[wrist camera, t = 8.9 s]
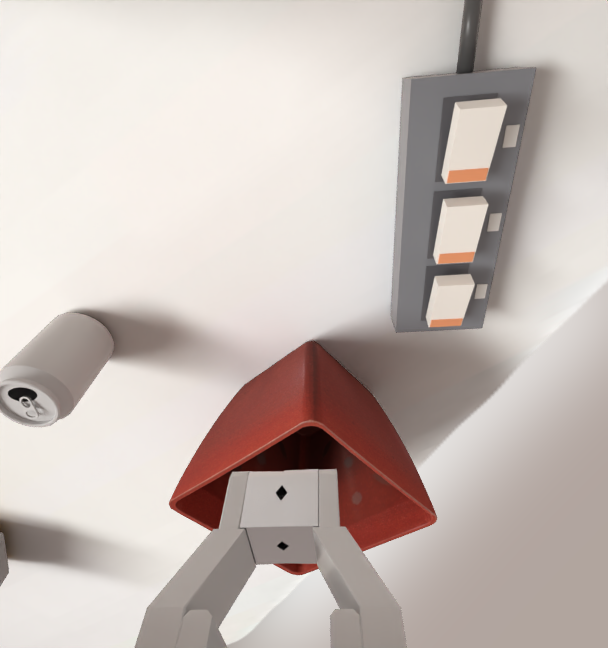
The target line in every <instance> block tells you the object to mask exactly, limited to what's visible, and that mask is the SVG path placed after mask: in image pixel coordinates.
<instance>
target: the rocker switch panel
mask: <svg viewBox="0 0 608 648" xmlns="http://www.w3.org/2000/svg"><path fill="white" fill-rule="evenodd" d="M481 7H482V0H465V2H464V11H463V19H462V28H461V37H460V46H459V54H458V63H457V72H456V73H450V74H440V75H429V76H418V77H407V78H402V97H401V117H400V137H399V157H398V177H397V197H396V217H395V237H394V256H393V276H392V296H391V318H392V322H393V325H394V328H395V331H396V333H397V332H416V331H436V330H456V329H475V328H482V327H483V322H484V317H485V312H486V308H487V303H488V298H489V293H490V288H491V284H492V279H493V274H494V269H495V264H496V259H497V255H498V250H499V245H500V240H501V235H502V231H503V226H504V221H505V216H506V211H507V207H508V202H509V197H510V192H511V187H512V182H513V178H514V173H515V168H516V163H517V158H518V154H519V149H520V144H521V139H522V134H523V130H524V125H525V120H526V115H527V110H528V105H529V101H530V96H531V91H532V86H533V81H534V77H535V72H536V68H533V67H515V68H504V69H494V70H483V71H473V67H474V59H475V52H476V44H477V37H478V29H479V22H480V14H481ZM497 98H501V99H502V100H503V101H504V102H505V104H506V105H507V108H506V112H505V115H504V119H503V122H502V126H501V129H500V133H499V136H498V140H497V144H496V147H495V151H494V154H493V158H492V161H491V165H490V168H489V172H488V175H487V179H486V181H477V182H464V183H450V184H445V182H444V180H443V178H442V176H441V174H442V169H443V164H444V158H445V153H446V148H447V143H448V137H449V132H450V127H451V122H452V116H453V111H454V106H455V102H463V101H474V100H486V99H497ZM477 196H483V197H484V198H485V200H486V201H487V203H488V208H487V212H486V215H485V219H484V223H483V226H482V230H481V234H480V238H479V241H478V245H477V249H476V252H475V256H474V260H473V262H464V263H448V264H436V261H435V259H434V256H433V253H434V247H435V242H436V236H437V231H438V225H439V219H440V214H441V208H442V203H443V199H449V198H463V197H477ZM461 274H471V276H472V279H473V281H474V284H475V285H474V288H473V291H472V294H471V297H470V300H469V303H468V306H467V309H466V312H465V316H464V319H463V322H462V325H461V326H446V327H428V323H427V320H426V314H427V309H428V305H429V300H430V296H431V291H432V287H433V282H434V278H435V276H444V275H461Z"/></svg>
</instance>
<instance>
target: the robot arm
mask: <svg viewBox="0 0 608 648" xmlns="http://www.w3.org/2000/svg"><path fill="white" fill-rule="evenodd" d="M282 563H298V564H317V566H318V568H319V570H320V572H321V573H322V575H323V577H324V579H325V581H326V583H327V585H328V587H329V589H330V590H331V593H332V594H333V596H334V598H335V600H336V602H337V604H338V606H339V608H340V609H335V610H334V611H333V613H332V614H331V615H330V634H331V635H330V636H331V648H407V644H406V638H405V631H404V625H403V619H402V612H401V607H400V606H399V604H398V603H397V601H396V600H395V598H394V597H393V595H392V594H391V592H390V591H389V590H388V588H387V587H386V585H385V584H384V583H383V581H382V579H381V578H380V577H379V575H378V573H377V572H376V571H375V569H374V568H373V566H372V565H371V563H370V562H369V561H368V559H367V557H366V556H365V554H364V553H363V552H362V550H361V549H360V547H359V546H358V544H357V543H356V541H355V540H354V538H353V537H352V536H351V534H350V533H349V531H348V530H347V528H346V527H340V517H339V498H338V479H337V469H324V470H318V469H308V470H286V471H256V472H250V471H246V472H232V474H231V476H230V478H229V483H228V487H227V492H226V497H225V502H224V506H223V511H222V516H221V520H220V525H219V529H213V530H212V531H211V533H210V534H209V535H208V536H207V537H206V539H205V540H204V541H203V542H202V543H201V545H200V546H199V547H198V548H197V549H196V550H195V552H194V553H193V554H192V555H191V556H190V558H189V559H188V560H187V561H186V562H185V564H184V565H183V566H182V567H181V568H180V569H179V571H178V572H177V573H176V574H175V575H174V577H173V578H172V579H171V580H170V581H169V583H168V584H167V585H166V586H165V587H164V588H163V590H162V591H161V592H160V593H159V594H158V596H157V597H156V598H155V599H154V600H153V602H152V603H151V604H150V605H149V606H148V607H147V610H146V613H145V616H144V619H143V623H142V626H141V629H140V632H139V635H138V638H137V642H136V645H135V648H227V646H226V644H225V642H224V640H223V638H222V636H221V634H220V631H219V629H218V628H219V626H220V625H221V623H222V621H223V620H224V618H225V616H226V615H227V613H228V612H229V610H230V608H231V607H232V605H233V603H234V602H235V600H236V599H237V597H238V595H239V594H240V592H241V590H242V589H243V587H244V585H245V584H246V582H247V581H248V579H249V577H250V576H251V574H252V572H253V571H254V569H255V568H256V565H258V564H282Z"/></svg>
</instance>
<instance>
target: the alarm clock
mask: <svg viewBox="0 0 608 648" xmlns="http://www.w3.org/2000/svg"><path fill="white" fill-rule="evenodd" d="M8 573H9V567H8V560H7V553H6V546H5V539H4V534H3V533H2V532H0V586H1V584H2V583H3V581H4V579H5V578H6V576H7V575H8Z"/></svg>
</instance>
